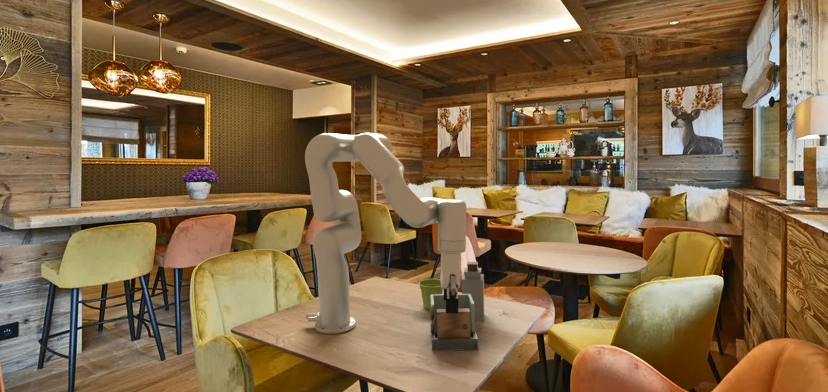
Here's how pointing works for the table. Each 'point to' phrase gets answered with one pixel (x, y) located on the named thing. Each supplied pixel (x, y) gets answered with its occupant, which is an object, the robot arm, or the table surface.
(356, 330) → the table surface
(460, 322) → the door
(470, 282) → the perfume bottle
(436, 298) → the box
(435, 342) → the grey brown open box
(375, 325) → the table surface
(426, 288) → the plant pot
